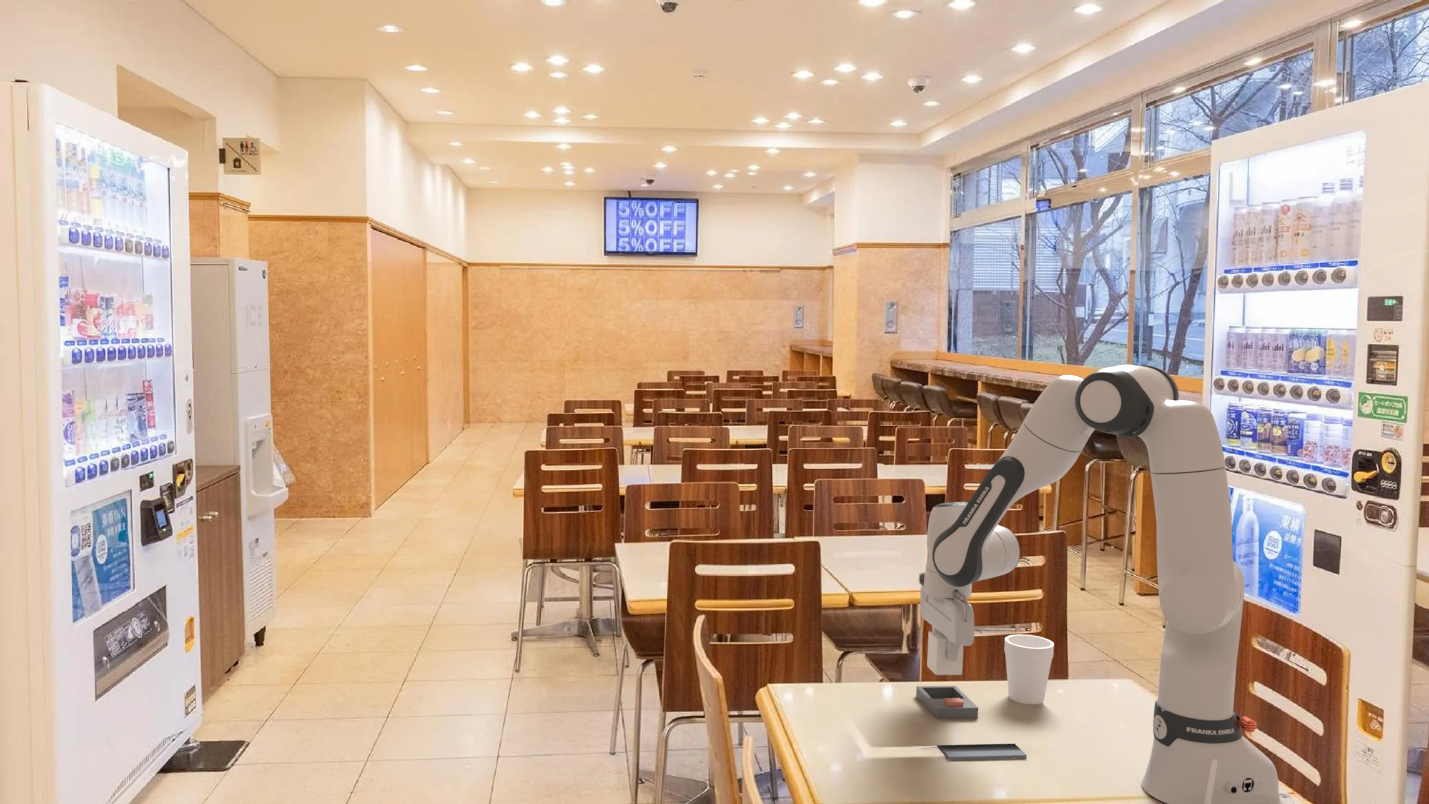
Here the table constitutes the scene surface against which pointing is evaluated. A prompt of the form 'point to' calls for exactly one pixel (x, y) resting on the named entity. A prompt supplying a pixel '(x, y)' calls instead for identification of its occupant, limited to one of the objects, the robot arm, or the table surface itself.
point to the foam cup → (1028, 667)
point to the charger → (942, 656)
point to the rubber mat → (981, 751)
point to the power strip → (938, 702)
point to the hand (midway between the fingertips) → (945, 654)
